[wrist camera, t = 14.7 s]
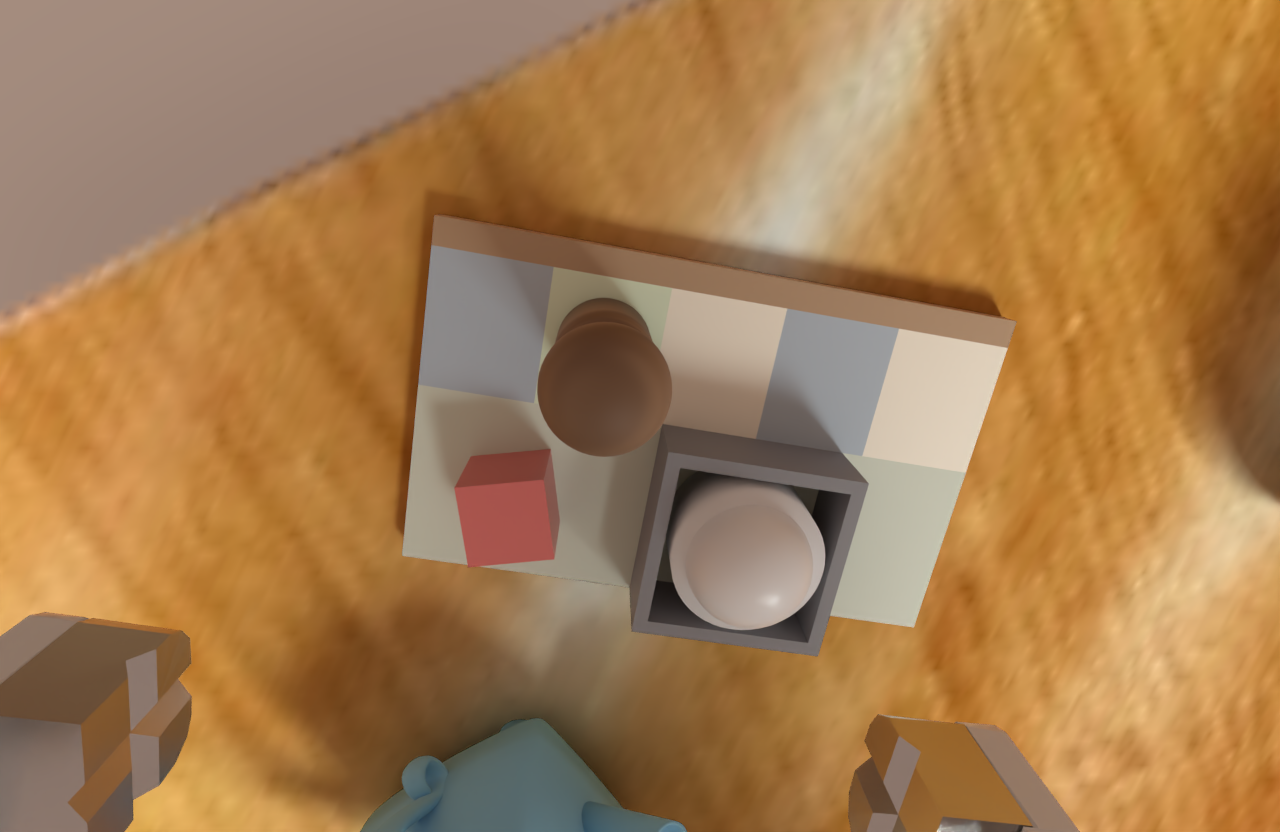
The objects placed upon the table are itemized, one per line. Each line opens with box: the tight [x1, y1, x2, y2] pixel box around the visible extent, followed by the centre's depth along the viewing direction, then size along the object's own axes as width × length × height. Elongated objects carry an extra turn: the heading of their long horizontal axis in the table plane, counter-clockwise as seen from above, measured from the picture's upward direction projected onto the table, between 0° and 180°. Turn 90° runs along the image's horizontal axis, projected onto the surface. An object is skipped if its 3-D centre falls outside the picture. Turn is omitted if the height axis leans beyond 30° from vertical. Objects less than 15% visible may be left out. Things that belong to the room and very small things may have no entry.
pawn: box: [537, 298, 672, 457], centre depth 22 cm, size 4×4×8 cm
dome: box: [666, 471, 825, 630], centre depth 26 cm, size 5×5×5 cm
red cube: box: [454, 449, 560, 567], centre depth 26 cm, size 3×3×3 cm
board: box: [402, 214, 1017, 656], centre depth 26 cm, size 21×13×4 cm, turn 80°
